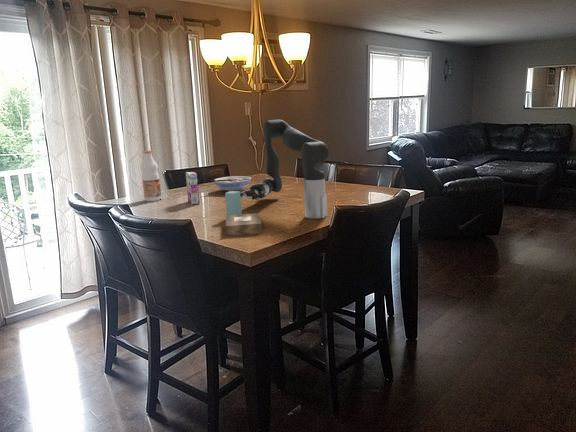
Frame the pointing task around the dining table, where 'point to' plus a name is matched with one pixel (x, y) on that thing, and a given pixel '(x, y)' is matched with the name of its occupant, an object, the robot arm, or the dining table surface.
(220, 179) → the ramen bowl
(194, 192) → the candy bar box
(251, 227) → the plinth
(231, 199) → the column
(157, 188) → the fruit juice
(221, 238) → the dining table surface
